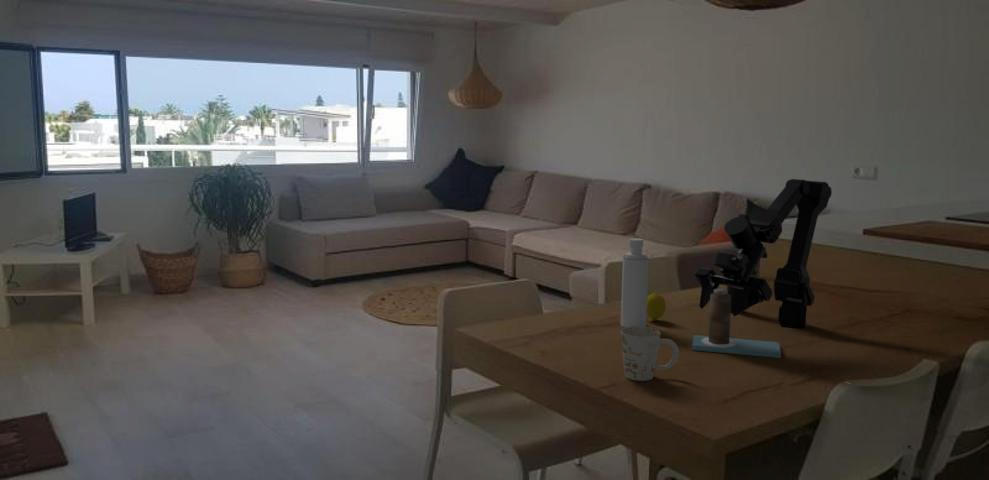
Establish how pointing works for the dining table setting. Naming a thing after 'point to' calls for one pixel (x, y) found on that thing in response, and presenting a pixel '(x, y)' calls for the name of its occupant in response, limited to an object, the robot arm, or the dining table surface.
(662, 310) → the lemon
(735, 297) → the butter churn
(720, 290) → the pepper mill
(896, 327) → the dining table surface
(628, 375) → the mug
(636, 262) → the white bottle
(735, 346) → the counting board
